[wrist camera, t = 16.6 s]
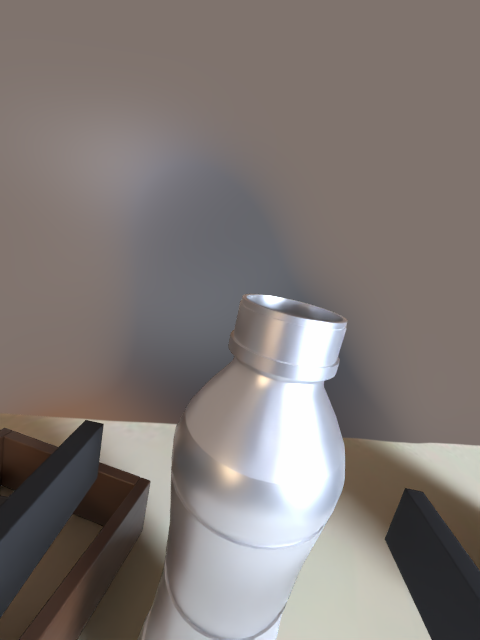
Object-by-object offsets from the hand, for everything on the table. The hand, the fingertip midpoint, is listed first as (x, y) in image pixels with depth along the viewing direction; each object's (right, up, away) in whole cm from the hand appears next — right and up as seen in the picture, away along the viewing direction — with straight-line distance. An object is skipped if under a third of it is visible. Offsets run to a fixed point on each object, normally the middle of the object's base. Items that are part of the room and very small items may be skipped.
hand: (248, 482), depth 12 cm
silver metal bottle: (-3, -12, +2) cm, 12 cm away
